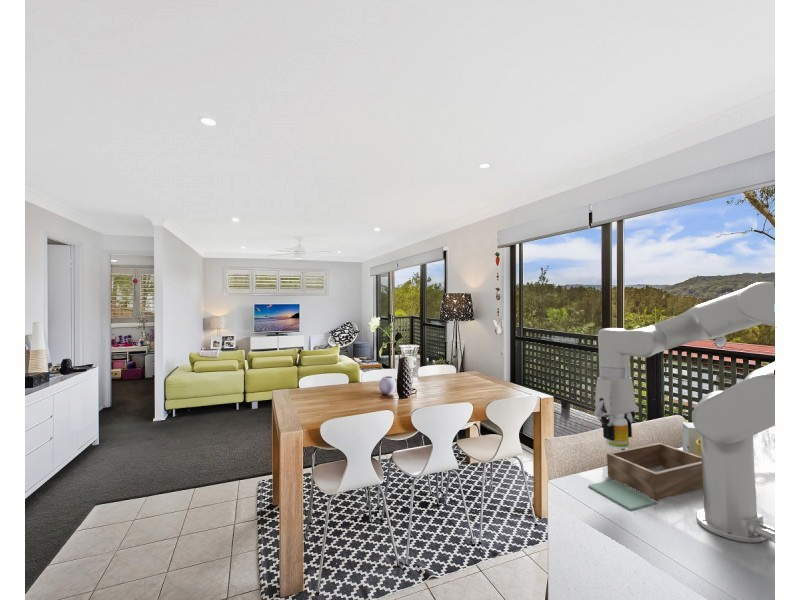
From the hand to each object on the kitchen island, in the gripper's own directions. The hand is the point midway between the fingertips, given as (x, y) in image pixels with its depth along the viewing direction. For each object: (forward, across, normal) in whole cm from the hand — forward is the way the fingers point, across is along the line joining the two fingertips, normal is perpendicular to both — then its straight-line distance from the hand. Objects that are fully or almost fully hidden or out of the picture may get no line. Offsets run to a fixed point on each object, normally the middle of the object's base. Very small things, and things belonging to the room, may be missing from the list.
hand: (617, 436), depth 107 cm
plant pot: (+16, -35, +3) cm, 39 cm away
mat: (+16, 0, 0) cm, 16 cm away
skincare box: (+16, -39, -7) cm, 43 cm away
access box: (+16, -17, -2) cm, 24 cm away
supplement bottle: (+3, 0, 0) cm, 3 cm away
